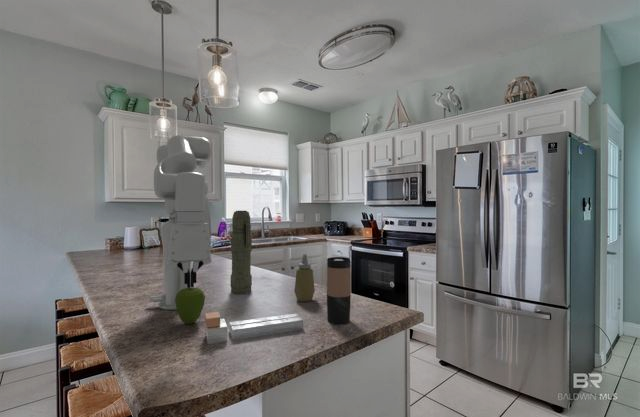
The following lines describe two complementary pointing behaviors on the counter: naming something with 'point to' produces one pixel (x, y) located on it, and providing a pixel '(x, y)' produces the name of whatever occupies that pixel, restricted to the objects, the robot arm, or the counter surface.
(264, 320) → the arm
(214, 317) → the block
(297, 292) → the squeeze bottle
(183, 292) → the apple
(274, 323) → the base
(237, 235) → the thermos
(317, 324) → the counter surface
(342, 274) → the travel mug
